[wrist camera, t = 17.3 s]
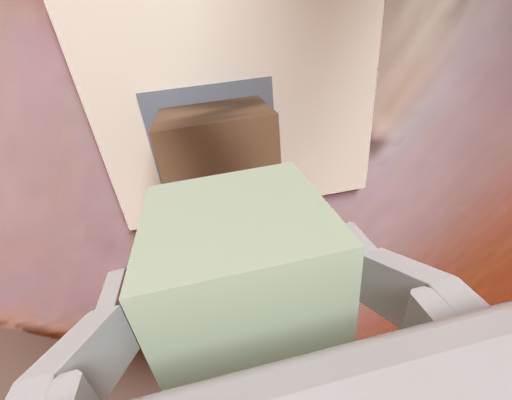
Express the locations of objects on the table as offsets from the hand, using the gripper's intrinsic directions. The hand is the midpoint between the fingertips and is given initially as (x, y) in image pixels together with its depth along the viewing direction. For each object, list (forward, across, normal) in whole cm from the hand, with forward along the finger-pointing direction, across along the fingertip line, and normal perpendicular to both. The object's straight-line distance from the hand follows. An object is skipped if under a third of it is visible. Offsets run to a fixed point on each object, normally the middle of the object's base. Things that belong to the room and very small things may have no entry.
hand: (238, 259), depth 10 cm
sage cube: (+2, 0, 0) cm, 2 cm away
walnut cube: (+11, 0, 0) cm, 11 cm away
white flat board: (+12, -2, -2) cm, 12 cm away
